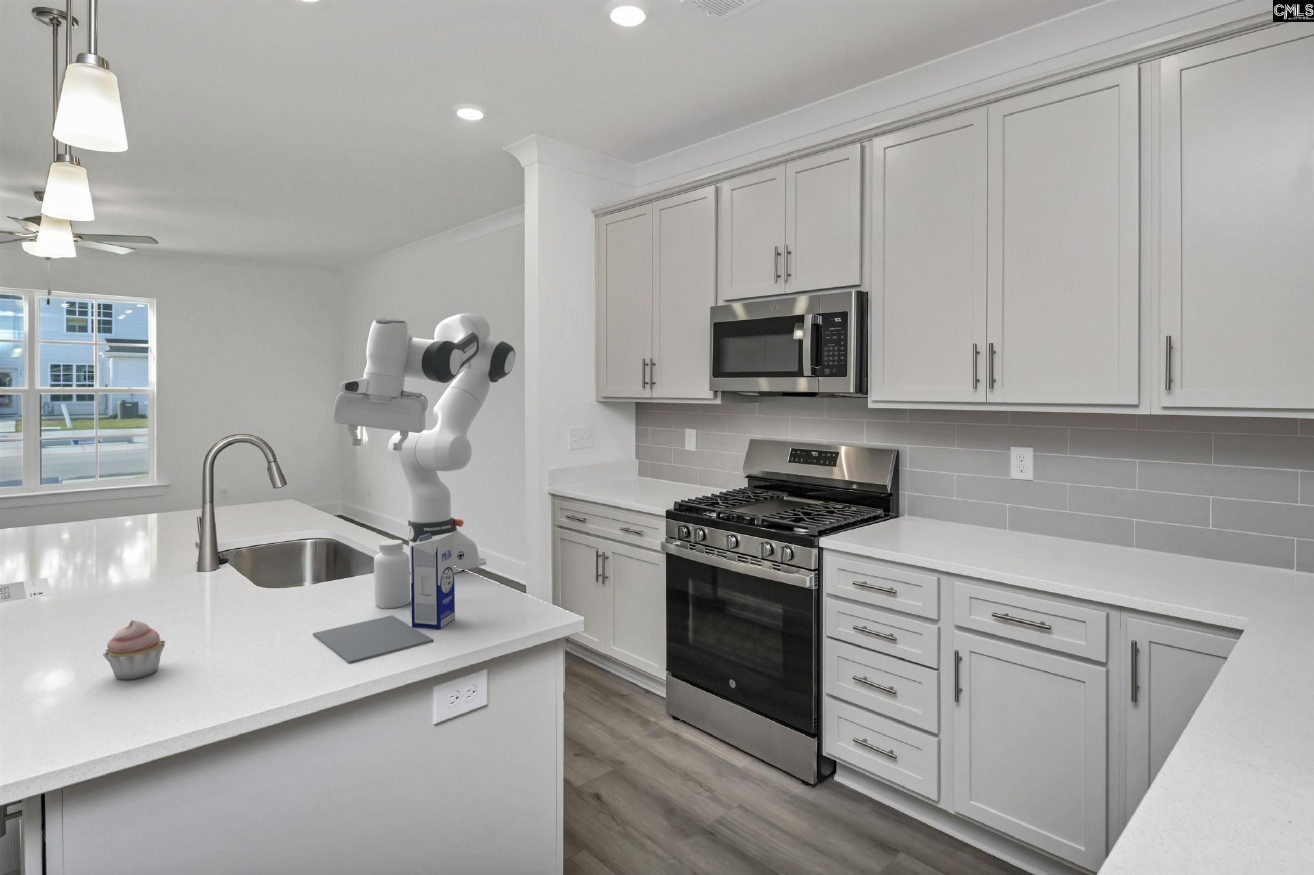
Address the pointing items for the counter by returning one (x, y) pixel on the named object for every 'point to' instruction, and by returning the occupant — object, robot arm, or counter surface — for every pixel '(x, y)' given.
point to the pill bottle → (392, 575)
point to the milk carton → (432, 581)
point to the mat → (371, 638)
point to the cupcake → (134, 651)
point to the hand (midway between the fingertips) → (376, 448)
